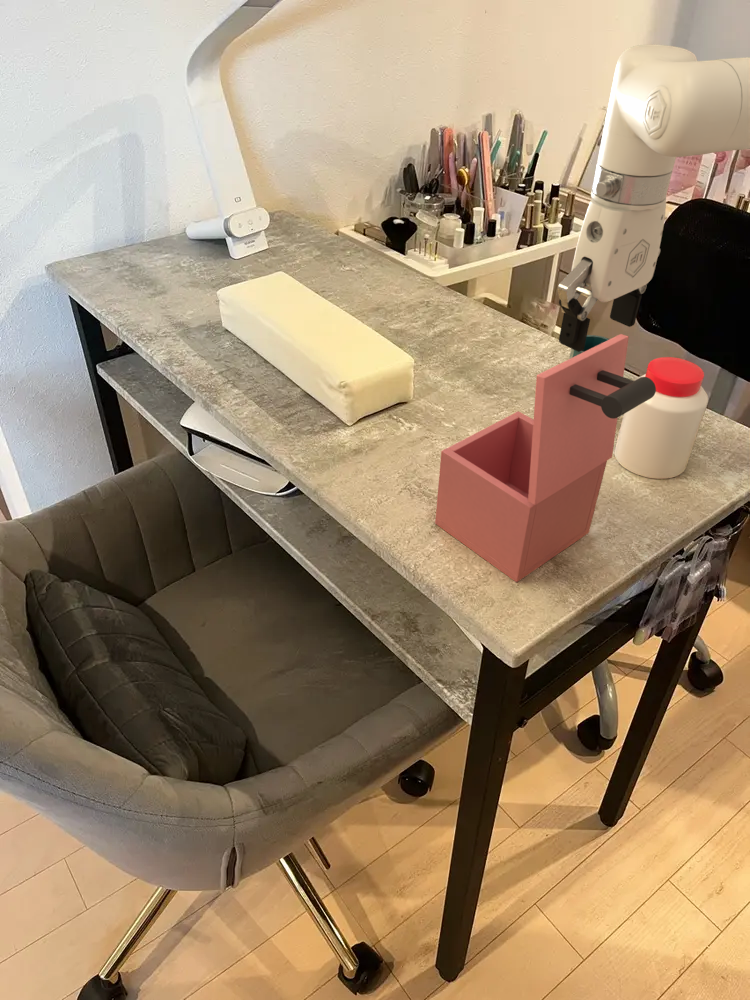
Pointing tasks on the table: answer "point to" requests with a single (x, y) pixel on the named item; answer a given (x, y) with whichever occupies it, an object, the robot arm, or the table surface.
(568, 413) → the lid
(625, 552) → the table surface
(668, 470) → the pill bottle
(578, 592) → the table surface
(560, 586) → the table surface
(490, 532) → the pink box
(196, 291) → the table surface
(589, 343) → the cup
